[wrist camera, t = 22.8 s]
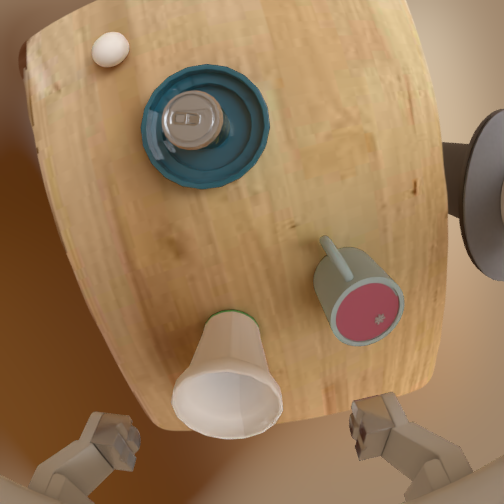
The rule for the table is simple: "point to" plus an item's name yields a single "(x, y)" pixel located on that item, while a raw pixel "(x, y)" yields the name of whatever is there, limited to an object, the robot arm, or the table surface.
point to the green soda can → (195, 121)
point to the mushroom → (110, 49)
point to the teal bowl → (225, 155)
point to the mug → (356, 295)
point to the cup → (228, 381)
